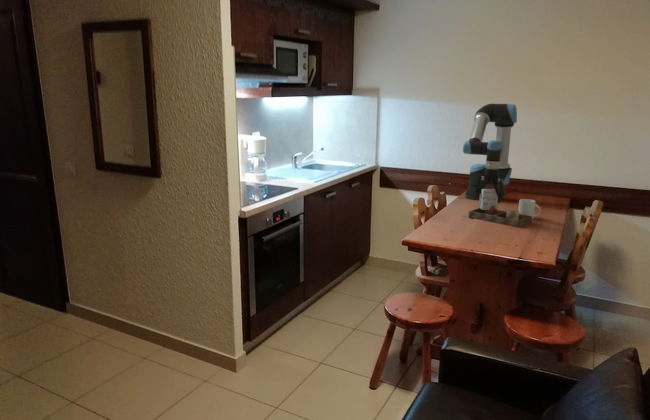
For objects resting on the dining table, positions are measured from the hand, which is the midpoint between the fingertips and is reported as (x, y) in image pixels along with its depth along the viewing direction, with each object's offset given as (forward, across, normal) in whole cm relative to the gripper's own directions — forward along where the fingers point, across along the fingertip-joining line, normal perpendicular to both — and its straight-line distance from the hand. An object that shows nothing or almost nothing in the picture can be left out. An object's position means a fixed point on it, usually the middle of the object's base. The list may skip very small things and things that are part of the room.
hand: (488, 206), depth 278 cm
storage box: (+7, +7, 0) cm, 10 cm away
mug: (+7, +17, +16) cm, 25 cm away
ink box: (+2, 0, 0) cm, 2 cm away
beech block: (+6, +14, 0) cm, 16 cm away
